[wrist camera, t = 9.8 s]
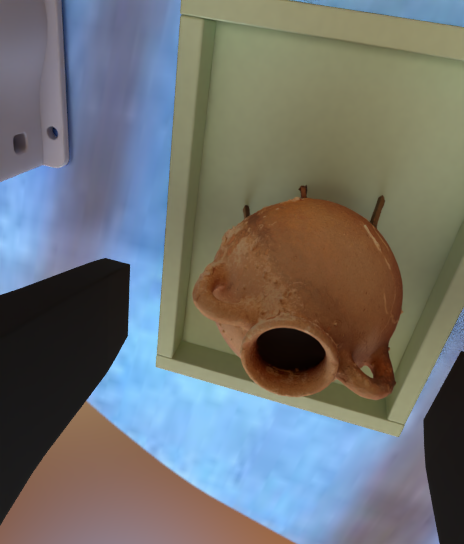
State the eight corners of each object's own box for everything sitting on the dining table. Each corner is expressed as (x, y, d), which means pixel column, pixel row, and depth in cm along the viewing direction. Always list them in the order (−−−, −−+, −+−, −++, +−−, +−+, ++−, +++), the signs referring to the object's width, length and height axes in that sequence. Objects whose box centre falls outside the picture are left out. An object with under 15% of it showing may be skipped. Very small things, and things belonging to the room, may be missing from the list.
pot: (398, 287, 18) (382, 136, 15) (424, 460, 12) (406, 260, 8) (262, 300, 20) (223, 169, 17) (220, 454, 14) (145, 289, 10)
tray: (395, 405, 21) (398, 437, 19) (170, 342, 23) (155, 367, 21) (563, 46, 13) (595, 47, 11) (201, -10, 15) (181, -17, 13)
